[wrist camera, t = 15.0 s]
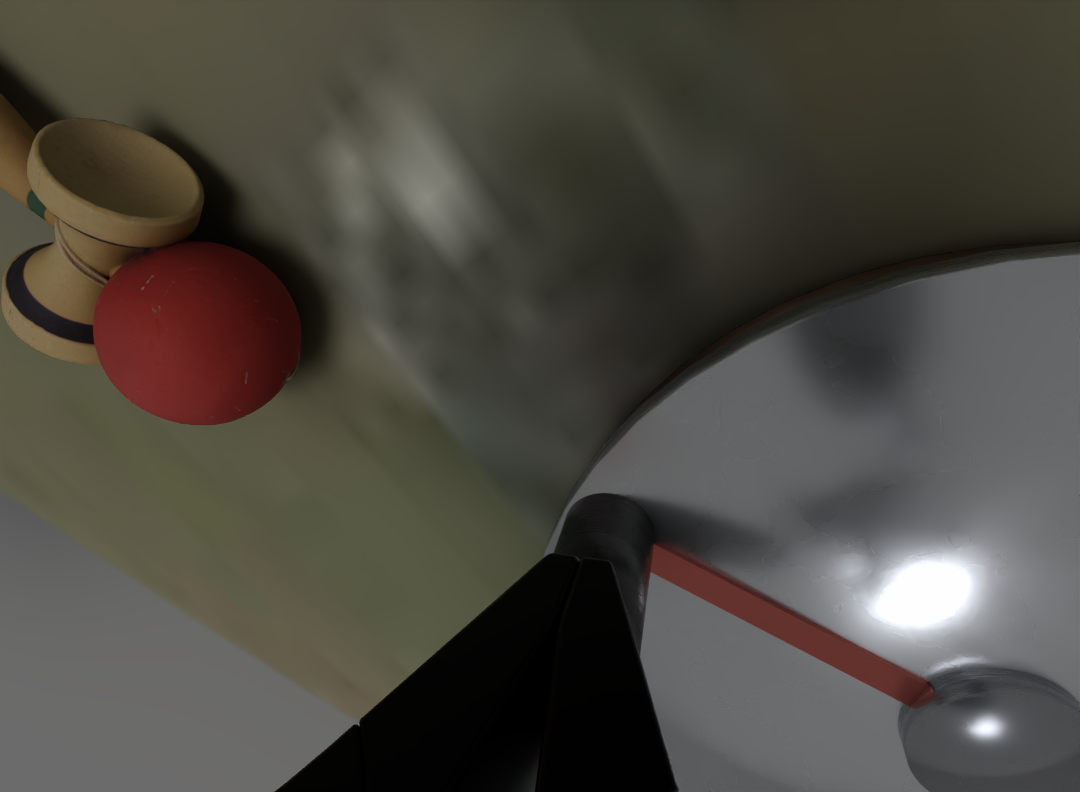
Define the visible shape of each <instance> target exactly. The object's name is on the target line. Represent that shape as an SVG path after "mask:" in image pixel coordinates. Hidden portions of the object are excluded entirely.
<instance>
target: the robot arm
mask: <svg viewBox="0 0 1080 792" xmlns="http://www.w3.org/2000/svg"><path fill="white" fill-rule="evenodd" d="M359 724H360V727H359V726H358V725H356V724H355V725H353V726H352V727H351V728H350V729H348V731H346V732H345V733H344V734H343V735H342V736H340V737H339V738H338V739H337V740H336V741H335V742H334V743H333V744H332V745H330V746H329V747H328V748H327V749H326V750H324V751H323V752H322V753H321V754H320V755H318V756H317V757H316V758H315V759H314V760H313V761H311V762H310V763H309V764H308V765H307V766H305V768H303V769H302V770H301V771H299V772H298V773H297V774H296V775H295V776H293V777H292V778H291V779H290V780H289V781H288V782H286V783H285V784H284V785H283V786H281V787H280V788H279V789H277V790H276V791H275V792H679V788H678V784H677V781H676V778H675V774H674V771H673V767H672V764H671V761H670V757H669V754H668V750H667V747H666V744H665V740H664V737H663V733H662V730H661V726H660V723H659V720H658V716H657V713H656V709H655V706H654V703H653V699H652V696H651V692H650V689H649V686H648V682H647V679H646V675H645V672H644V668H643V665H642V662H641V658H640V655H639V651H638V648H637V645H636V641H635V638H634V634H633V631H632V628H631V624H630V621H629V617H628V614H627V610H626V607H625V604H624V600H623V597H622V593H621V590H620V587H619V583H618V580H617V576H616V573H615V570H614V566H613V564H612V563H611V562H610V561H608V560H601V559H594V558H587V557H586V558H583V559H581V560H579V558H578V557H577V556H572V555H565V554H558V553H550V554H548V555H546V556H545V557H544V558H543V559H542V560H540V561H539V562H538V563H537V564H536V565H535V566H534V567H532V568H531V569H530V570H529V571H528V572H527V573H526V574H525V575H523V576H522V577H521V578H520V579H519V580H518V581H517V582H515V583H514V584H513V585H512V586H511V587H510V588H509V589H508V590H506V591H505V592H504V593H503V594H502V595H501V596H500V597H498V598H497V599H496V600H495V601H494V602H493V603H492V604H491V605H489V606H488V607H487V608H486V609H485V610H484V611H483V612H481V613H480V614H479V615H478V616H477V617H476V618H475V619H474V620H472V621H471V622H470V623H469V624H468V625H467V626H466V627H464V628H463V629H462V630H461V631H460V632H459V633H458V634H457V635H455V636H454V637H453V638H452V639H451V640H450V641H449V642H447V643H446V644H445V645H444V646H443V647H442V648H441V649H440V650H438V651H437V652H436V653H435V654H434V655H433V656H432V657H430V658H429V659H428V660H427V661H426V662H425V663H424V664H422V665H421V666H420V667H419V668H418V669H417V670H416V671H415V672H413V673H412V674H411V675H410V676H409V677H408V678H407V679H405V680H404V681H403V682H402V683H401V684H400V685H399V686H398V687H396V688H395V689H394V690H393V691H392V692H391V693H390V694H388V695H387V696H386V697H385V698H384V699H383V700H382V701H381V702H379V703H378V704H377V705H376V706H375V707H374V708H373V709H371V710H370V711H369V712H368V713H367V714H366V715H365V716H364V717H362V718H361V719H360V722H359Z"/></svg>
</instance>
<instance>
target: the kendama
mask: <svg viewBox="0 0 1080 792" xmlns="http://www.w3.org/2000/svg"><path fill="white" fill-rule="evenodd" d="M0 188H2V189H3V190H5V191H6V192H7V193H9V194H10V195H11V196H13V197H14V198H15V199H17V200H18V201H19V202H21V203H22V204H23V205H25V206H26V207H27V208H29V209H30V210H31V211H33V212H35V213H36V214H37V215H39V216H40V217H41V218H43V219H44V220H46V221H47V222H48V223H49V224H51V225H52V226H53V227H54V228H55V238H56V241H55V242H52V243H46V244H41V245H38V246H35V247H32V248H30V249H28V250H26V251H24V252H22V253H21V254H19V255H18V256H16V257H15V258H14V259H13V260H12V261H11V262H10V264H9V265H8V267H7V269H6V271H5V272H4V276H3V280H2V294H1V306H2V312H3V314H4V317H5V320H6V321H7V323H8V324H9V326H10V328H11V329H12V330H13V331H14V332H15V334H16V335H17V336H19V338H20V339H22V340H23V341H25V342H26V343H28V344H29V345H30V346H32V347H33V348H35V349H37V350H39V351H41V352H43V353H45V354H47V355H49V356H52V357H55V358H58V359H61V360H65V361H70V362H75V363H79V364H89V365H102V367H103V369H104V371H105V373H106V374H107V376H108V377H109V379H110V380H111V382H112V383H113V384H114V386H115V387H116V388H117V389H118V390H119V391H120V392H121V393H122V394H123V395H124V396H125V397H126V398H127V399H129V400H130V401H131V402H132V403H134V404H135V405H137V406H139V407H140V408H141V409H143V410H145V411H147V412H149V413H151V414H153V415H155V416H158V417H161V418H163V419H166V420H170V421H173V422H178V423H181V424H190V425H216V424H222V423H227V422H231V421H234V420H236V419H239V418H242V417H244V416H246V415H248V414H250V413H252V412H254V411H256V410H257V409H259V408H261V407H262V406H263V405H265V404H266V403H267V402H269V401H270V400H271V399H272V398H273V397H274V396H275V395H276V394H277V393H278V392H279V391H280V390H281V388H282V387H283V386H284V384H285V383H286V382H287V380H290V379H291V378H292V377H293V376H294V375H295V372H296V370H297V368H298V364H299V360H300V347H301V322H300V318H299V314H298V311H297V308H296V306H295V303H294V301H293V299H292V297H291V295H290V294H289V292H288V291H287V289H286V288H285V286H284V285H283V283H282V282H281V281H280V280H279V279H278V277H277V276H276V275H275V274H274V273H273V272H272V271H270V270H269V269H268V268H267V267H266V266H265V265H263V264H262V263H261V262H259V261H258V260H257V259H255V258H253V257H252V256H250V255H248V254H246V253H244V252H242V251H240V250H237V249H235V248H232V247H229V246H226V245H222V244H218V243H212V242H203V241H188V240H187V237H188V236H189V235H191V234H192V233H193V232H194V230H195V229H196V227H197V225H198V223H199V220H200V216H201V212H202V208H203V204H204V191H203V187H202V183H201V181H200V179H199V177H198V176H197V174H196V173H195V171H194V170H193V169H192V167H191V166H190V165H189V164H188V163H187V162H186V161H185V160H184V159H183V158H182V157H181V156H179V155H178V154H177V153H176V152H175V151H173V150H172V149H170V148H169V147H168V146H166V145H165V144H163V143H161V142H159V141H158V140H156V139H154V138H152V137H150V136H148V135H146V134H144V133H142V132H140V131H137V130H135V129H132V128H130V127H128V126H125V125H120V124H116V123H113V122H109V121H105V120H96V119H82V118H75V119H66V120H60V121H56V122H53V123H51V124H48V125H47V126H45V127H44V128H43V129H42V130H40V131H39V132H38V134H36V133H35V132H34V130H33V129H32V128H31V127H30V126H29V124H28V123H27V122H26V121H25V120H24V118H23V117H22V116H21V115H20V114H19V113H18V112H17V111H16V109H15V108H14V107H13V106H12V105H11V104H10V103H9V102H8V101H7V100H6V98H5V97H4V96H3V95H2V94H1V93H0Z"/></svg>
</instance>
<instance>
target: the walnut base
mask: <svg viewBox="0 0 1080 792" xmlns="http://www.w3.org/2000/svg"><path fill="white" fill-rule="evenodd" d="M1072 242H1080V241H1072ZM1061 243H1071V242H1051V243H1029V244H1008V245H995V246H989V247H982V248H976V249H970V250H963V251H957V252H951V253H944V254H938V255H932V256H925V257H920V258H916V259H912V260H909V261H905V262H901V263H898V264H894V265H890V266H887V267H883V268H879V269H876V270H872V271H868V272H865V273H861V274H857V275H854V276H850V277H847V278H845V279H842V280H839V281H837V282H834V283H832V284H829V285H827V286H824V287H822V288H819V289H817V290H814V291H812V292H809V293H807V294H804V295H802V296H799V297H797V298H794V299H791V300H789V301H786V302H784V303H782V304H780V305H778V306H777V307H775V308H773V309H771V310H769V311H767V312H765V313H763V314H762V315H760V316H758V317H756V318H754V319H752V320H750V321H749V322H747V323H745V324H743V325H741V326H739V327H737V328H736V329H734V330H732V331H730V332H728V333H727V334H725V335H724V336H722V337H721V338H720V339H718V340H717V341H715V342H714V343H712V344H711V345H710V346H708V347H707V348H705V349H704V350H702V351H701V352H700V353H698V354H697V355H695V356H694V357H693V358H691V359H690V360H688V361H687V362H685V363H684V364H683V365H681V366H680V367H679V368H678V369H677V370H676V371H674V372H673V373H672V374H671V375H670V376H669V377H668V378H667V379H666V380H665V381H664V382H663V383H661V384H660V385H659V386H658V387H657V388H656V389H655V390H654V391H653V392H652V393H651V394H649V395H648V396H647V397H646V398H645V399H644V400H643V401H642V402H641V403H640V404H639V405H638V407H637V408H636V409H635V410H634V411H633V413H634V412H635V411H636V410H637V409H638V408H639V407H640V405H642V404H643V403H644V402H645V401H647V400H648V399H649V398H650V397H652V396H653V395H654V394H655V393H657V392H658V391H659V390H660V389H662V388H663V387H664V386H665V385H666V384H668V383H669V382H670V381H671V380H673V379H674V378H675V377H676V376H678V375H679V374H680V373H681V372H683V371H684V370H685V369H686V368H688V367H689V366H690V365H692V364H694V363H695V362H697V361H698V360H700V359H702V358H703V357H705V356H707V355H708V354H710V353H711V352H713V351H715V350H716V349H718V348H720V347H721V346H723V345H724V344H726V343H728V342H729V341H731V340H733V339H734V338H736V337H738V336H739V335H741V334H742V333H744V332H746V331H747V330H749V329H751V328H753V327H755V326H757V325H760V324H762V323H764V322H766V321H768V320H770V319H773V318H775V317H777V316H779V315H781V314H783V313H786V312H788V311H790V310H792V309H794V308H797V307H799V306H801V305H803V304H805V303H807V302H810V301H812V300H814V299H816V298H818V297H821V296H824V295H827V294H830V293H833V292H836V291H839V290H842V289H845V288H848V287H851V286H854V285H857V284H860V283H863V282H866V281H869V280H872V279H875V278H878V277H881V276H884V275H887V274H890V273H893V272H896V271H899V270H903V269H908V268H912V267H917V266H922V265H926V264H931V263H936V262H940V261H945V260H950V259H955V258H959V257H964V256H969V255H973V254H978V253H983V252H987V251H993V250H1003V249H1013V248H1022V247H1032V246H1042V245H1051V244H1061ZM633 413H632V414H633ZM632 414H631V415H632ZM631 415H630V416H631ZM630 416H629V417H630Z"/></svg>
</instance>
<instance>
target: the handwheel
mask: <svg viewBox="0 0 1080 792" xmlns="http://www.w3.org/2000/svg"><path fill="white" fill-rule="evenodd" d="M550 553H558V554H565V555H572V556H577V557H578V558H579V560H581V559H583V558H586V557H587V558H594V559H601V560H608V561H610V562H611V563H612V564H613V566H614V570H615V573H616V576H617V580H618V583H619V587H620V590H621V593H622V597H623V600H624V604H625V607H626V610H627V614H628V617H629V621H630V624H631V628H632V631H633V634H634V638H635V641H636V645H637V648H638V651H639V655H640V658H641V662H642V665H643V668H644V672H645V675H646V679H647V682H648V686H649V689H650V692H651V696H652V699H653V703H654V706H655V709H656V713H657V716H658V720H659V723H660V726H661V730H662V733H663V737H664V740H665V744H666V747H667V750H668V754H669V757H670V761H671V764H672V767H673V771H674V774H675V778H676V781H677V784H678V788H679V792H1080V242H1071V243H1061V244H1051V245H1042V246H1032V247H1022V248H1013V249H1003V250H993V251H987V252H983V253H978V254H973V255H969V256H964V257H959V258H955V259H950V260H945V261H940V262H936V263H931V264H926V265H922V266H917V267H912V268H908V269H903V270H899V271H896V272H893V273H890V274H887V275H884V276H881V277H878V278H875V279H872V280H869V281H866V282H863V283H860V284H857V285H854V286H851V287H848V288H845V289H842V290H839V291H836V292H833V293H830V294H827V295H824V296H821V297H818V298H816V299H814V300H812V301H810V302H807V303H805V304H803V305H801V306H799V307H797V308H794V309H792V310H790V311H788V312H786V313H783V314H781V315H779V316H777V317H775V318H773V319H770V320H768V321H766V322H764V323H762V324H760V325H757V326H755V327H753V328H751V329H749V330H747V331H746V332H744V333H742V334H741V335H739V336H738V337H736V338H734V339H733V340H731V341H729V342H728V343H726V344H724V345H723V346H721V347H720V348H718V349H716V350H715V351H713V352H711V353H710V354H708V355H707V356H705V357H703V358H702V359H700V360H698V361H697V362H695V363H694V364H692V365H690V366H689V367H688V368H686V369H685V370H684V371H683V372H681V373H680V374H679V375H678V376H676V377H675V378H674V379H673V380H671V381H670V382H669V383H668V384H666V385H665V386H664V387H663V388H662V389H660V390H659V391H658V392H657V393H655V394H654V395H653V396H652V397H650V398H649V399H648V400H647V401H645V402H644V403H643V404H642V405H640V407H639V408H638V409H637V410H636V411H635V412H634V413H633V414H632V415H631V416H630V417H629V418H628V419H627V420H626V421H625V422H624V423H623V425H622V426H621V427H620V428H619V429H618V430H617V431H616V432H615V433H614V434H613V435H612V436H611V437H610V438H609V439H608V440H607V441H606V443H605V444H604V445H603V446H602V447H601V448H600V450H599V451H598V453H597V454H596V456H595V457H594V459H593V460H592V461H591V463H590V464H589V466H588V467H587V469H586V470H585V471H584V473H583V474H582V476H581V477H580V479H579V480H578V481H577V483H576V484H575V486H574V487H573V489H572V491H571V493H570V495H569V497H568V499H567V502H566V504H565V506H564V508H563V510H562V512H561V514H560V516H559V518H558V520H557V522H556V524H555V526H554V528H553V531H552V534H551V537H550V539H549V542H548V545H547V548H546V550H545V554H544V557H545V556H546V555H548V554H550ZM544 557H543V558H544Z"/></svg>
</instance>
